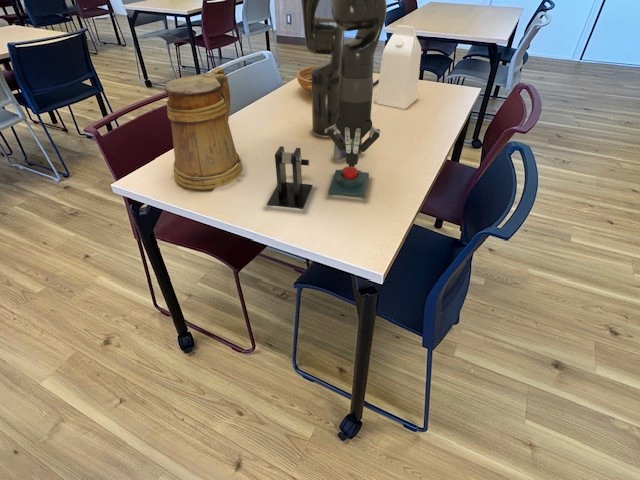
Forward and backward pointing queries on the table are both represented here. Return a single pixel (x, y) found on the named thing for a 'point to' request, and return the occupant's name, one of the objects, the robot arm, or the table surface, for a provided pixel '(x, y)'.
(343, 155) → the flask
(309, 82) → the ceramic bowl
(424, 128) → the table surface
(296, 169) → the bracket
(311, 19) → the robot arm
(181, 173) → the tankard
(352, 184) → the button box
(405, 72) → the milk
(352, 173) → the button
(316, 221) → the table surface
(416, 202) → the table surface
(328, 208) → the table surface
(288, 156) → the lever
